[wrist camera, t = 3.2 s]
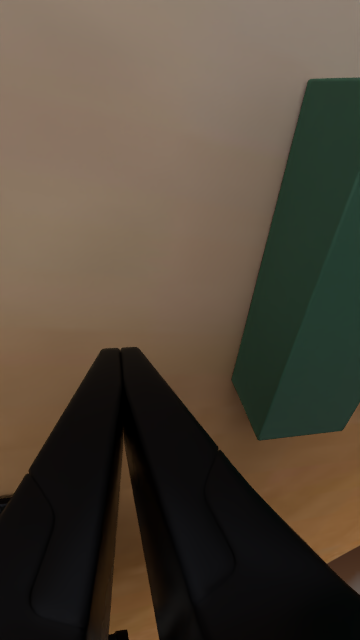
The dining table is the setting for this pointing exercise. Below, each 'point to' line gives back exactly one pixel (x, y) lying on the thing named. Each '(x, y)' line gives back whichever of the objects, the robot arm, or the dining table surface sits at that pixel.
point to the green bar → (309, 279)
